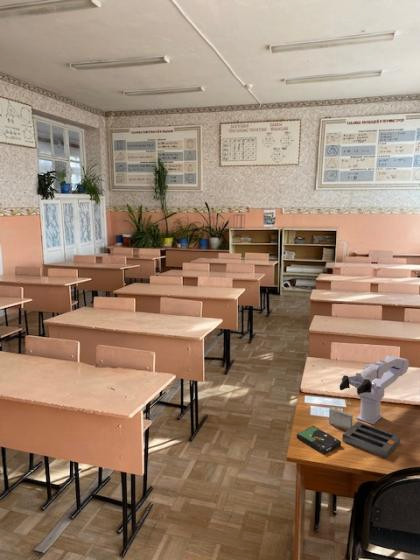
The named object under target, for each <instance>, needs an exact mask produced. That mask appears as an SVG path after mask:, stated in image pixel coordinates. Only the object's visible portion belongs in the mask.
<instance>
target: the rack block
mask: <svg viewBox="0 0 420 560" xmlns="http://www.w3.org/2000/svg"><path fill="white" fill-rule="evenodd" d="M401 438H402V437H401V435H398V434H395V433H393V432H389V431H386V430H383V429H381V428H377V427H375V426H372V425H369V424H366V423H364V422H361V421H357V422H355V423H354V424H352V427H351V428H349V429H348V430H346V431H345V432H343V433H342V439H341V442H344V443H346V444H349V445H351V446H354V447H356V448H359V449H361V450H364V451H366V452H368V453H371V454H374V455H376V456H379V457H381V458H384V459H388V458H389V456H390V455H392V453H393V452H394V451H395V450H396V449H397V447H399V445H400V444H401V441H402V440H401Z"/></svg>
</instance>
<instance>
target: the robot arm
mask: <svg viewBox="0 0 420 560" xmlns="http://www.w3.org/2000/svg"><path fill="white" fill-rule="evenodd" d="M409 367H410V361H409V359H408V358H403V357H399V356H395V355H391V354H387V355H386V356H385V358H384V359H379V360H378V361H376V362H375V363H367V364H366V365H365V367H364V368H363V370H361V372H356V373H355V375H354V374H353V375H350V376H349V375H342V377H341V382H340V384H339V390H340V391H343V390H346V389H350V388H351V386H352V387H354V388H356V393H357V396H358V397H359V400H360V409H359V410H360V411H359V414H358V415H357V416H356V419H357V420H361V421H363V422H366V423H369V424H372V425H375V424H376V423H377V422H378V421H379V420H380V419H382V417H383V415H381V406H382V405H381V401H382V400H383V398H384V397H385V389H387V388H389V386H391V385H392V384H394V383H395V382H396V381H397V380H398V379H399V378H400V377H403V376H404V375H405V374H406V373H407V372H408V370H409Z"/></svg>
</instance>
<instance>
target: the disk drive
mask: <svg viewBox="0 0 420 560" xmlns="http://www.w3.org/2000/svg"><path fill="white" fill-rule="evenodd" d="M296 439H298V440H299V441H301V442H303V443H304V444H306V445H308V447H310V448H312V449H315V450H316V451H317V452H319V453H321V454H322V455H326V454H328V453H329V452H331V451H334V450H336V449H338V448H339V447H341V446H342V445H341V444H342V440H340V439H338V438H336V437H335V436H333V435H331V434H330V433H328V432H325V431H324V430H322V429H320V428H319V427H316V426H315V425H312V426H309V427H307V428H305V429H304V430H301V431H299V432H297V433H296Z"/></svg>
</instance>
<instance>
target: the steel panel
mask: <svg viewBox="0 0 420 560" xmlns="http://www.w3.org/2000/svg"><path fill="white" fill-rule="evenodd" d="M328 412H329V414H328V424H330V425H332V426H335V427H337V428H340V429H342V430H346V431H347V430H348V429H349V428H351V427H352V426H353V419H354V417H353V414H352V413H348V412H345V411H342V410H340V409H337V408H334V407H329V410H328Z"/></svg>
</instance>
